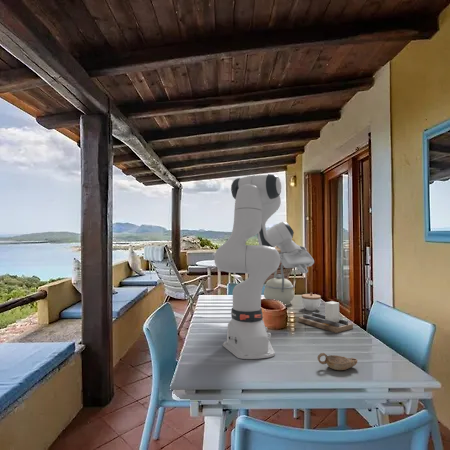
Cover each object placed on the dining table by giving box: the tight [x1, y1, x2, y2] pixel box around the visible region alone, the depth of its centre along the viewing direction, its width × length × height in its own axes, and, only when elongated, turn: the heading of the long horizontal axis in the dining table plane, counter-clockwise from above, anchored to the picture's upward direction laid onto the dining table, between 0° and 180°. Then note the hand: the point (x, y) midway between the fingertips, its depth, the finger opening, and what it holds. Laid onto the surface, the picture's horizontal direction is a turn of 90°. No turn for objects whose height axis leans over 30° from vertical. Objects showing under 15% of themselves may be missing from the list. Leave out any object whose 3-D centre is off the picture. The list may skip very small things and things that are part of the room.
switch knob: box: [324, 300, 340, 323], centre depth 161 cm, size 4×5×9 cm
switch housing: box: [298, 311, 354, 334], centre depth 164 cm, size 22×12×4 cm, turn 36°
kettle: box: [263, 262, 295, 306], centre depth 213 cm, size 25×18×25 cm
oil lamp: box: [317, 352, 358, 371], centre depth 114 cm, size 13×8×5 cm, turn 90°
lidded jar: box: [301, 292, 322, 312], centre depth 196 cm, size 11×11×9 cm
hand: (305, 272), depth 174 cm, fingers closed
